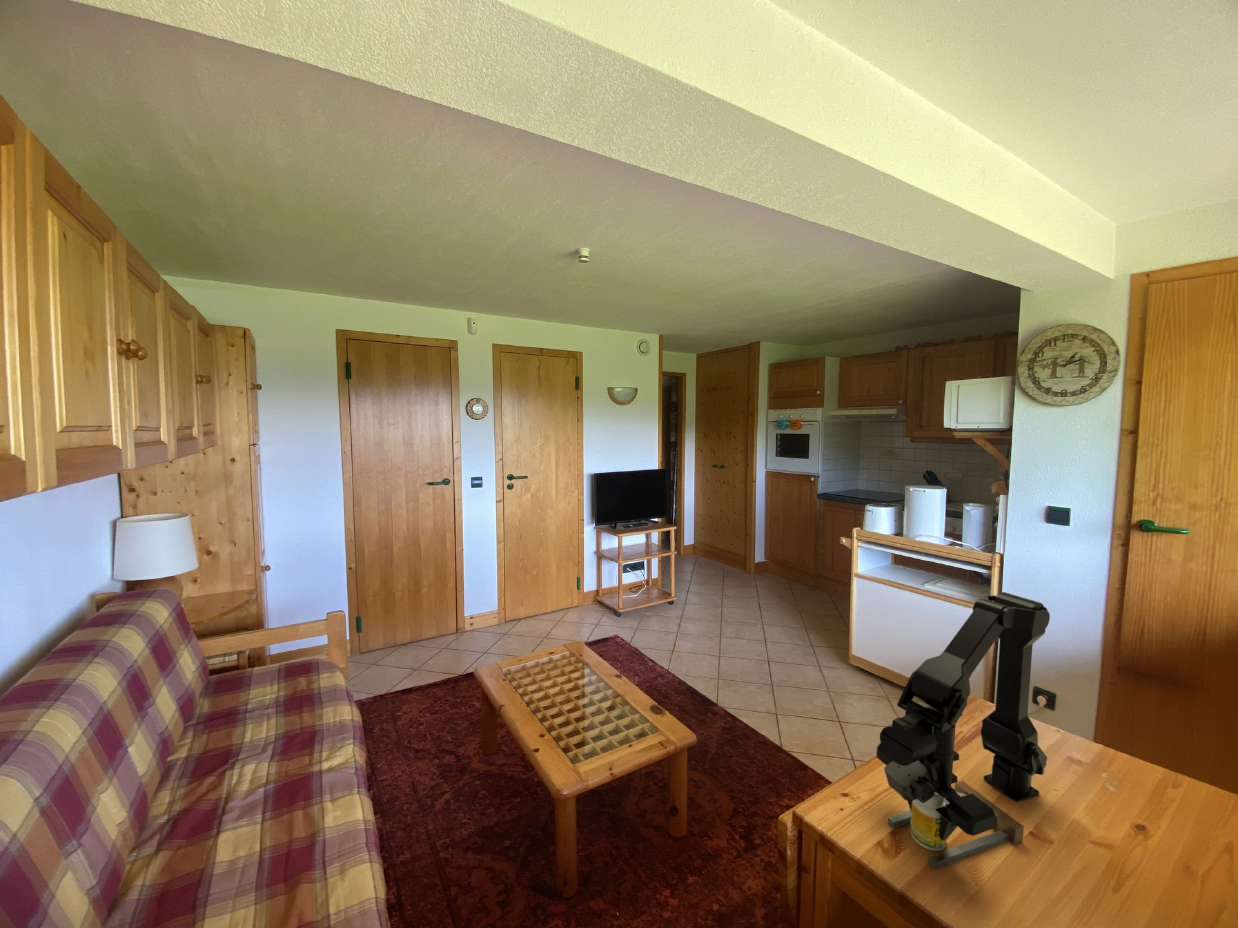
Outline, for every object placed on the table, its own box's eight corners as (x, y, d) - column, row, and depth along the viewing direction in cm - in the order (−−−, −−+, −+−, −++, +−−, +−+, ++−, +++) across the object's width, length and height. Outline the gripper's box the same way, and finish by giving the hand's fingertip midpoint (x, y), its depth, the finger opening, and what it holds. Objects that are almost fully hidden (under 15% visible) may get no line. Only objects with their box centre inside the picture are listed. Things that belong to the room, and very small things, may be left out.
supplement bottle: (919, 820, 90) (922, 772, 88) (951, 842, 85) (955, 791, 84) (903, 835, 87) (906, 785, 86) (936, 858, 82) (940, 806, 81)
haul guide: (961, 794, 95) (962, 780, 95) (1022, 841, 85) (1023, 826, 85) (884, 819, 90) (884, 804, 90) (938, 873, 80) (939, 856, 79)
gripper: (854, 719, 90) (851, 796, 92) (948, 795, 73) (942, 889, 74) (902, 708, 94) (897, 782, 95) (1003, 777, 76) (995, 868, 78)
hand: (928, 825), depth 86 cm, fingers closed on supplement bottle, 5 cm apart
